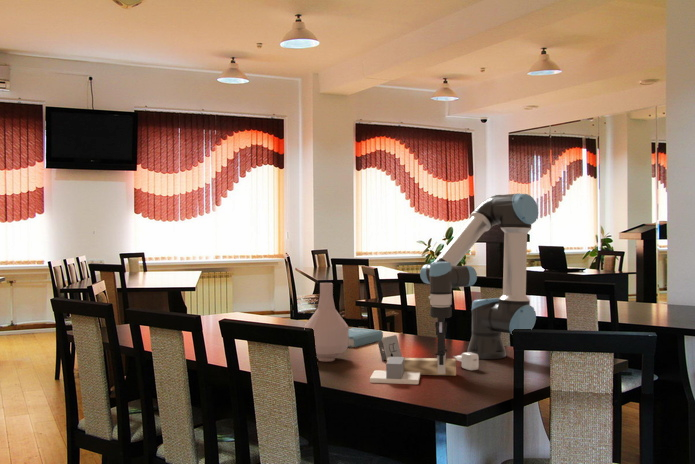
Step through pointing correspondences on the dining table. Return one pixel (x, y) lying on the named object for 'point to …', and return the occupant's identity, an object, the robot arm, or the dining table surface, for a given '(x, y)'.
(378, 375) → the fulcrum
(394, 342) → the electrical switch
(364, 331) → the book
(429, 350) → the dining table surface
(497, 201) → the robot arm
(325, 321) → the vase
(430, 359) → the beam
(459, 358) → the power adapter
